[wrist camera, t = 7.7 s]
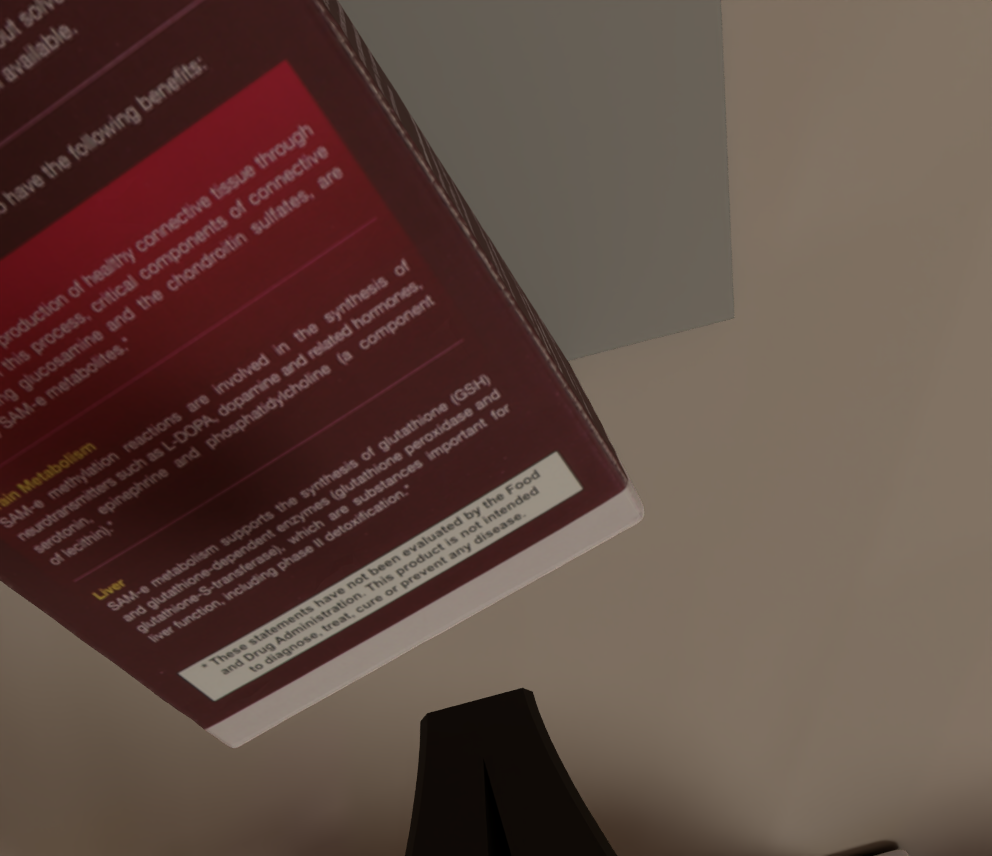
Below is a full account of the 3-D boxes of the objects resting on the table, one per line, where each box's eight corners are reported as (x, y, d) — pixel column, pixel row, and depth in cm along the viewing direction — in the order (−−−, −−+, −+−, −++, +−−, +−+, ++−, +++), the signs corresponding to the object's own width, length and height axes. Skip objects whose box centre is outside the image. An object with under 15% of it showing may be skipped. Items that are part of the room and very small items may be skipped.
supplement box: (581, 378, 18) (-67, -681, 9) (659, 526, 14) (-343, -1080, 5) (238, 578, 19) (-615, -195, 11) (221, 767, 15) (-1172, -226, 7)
